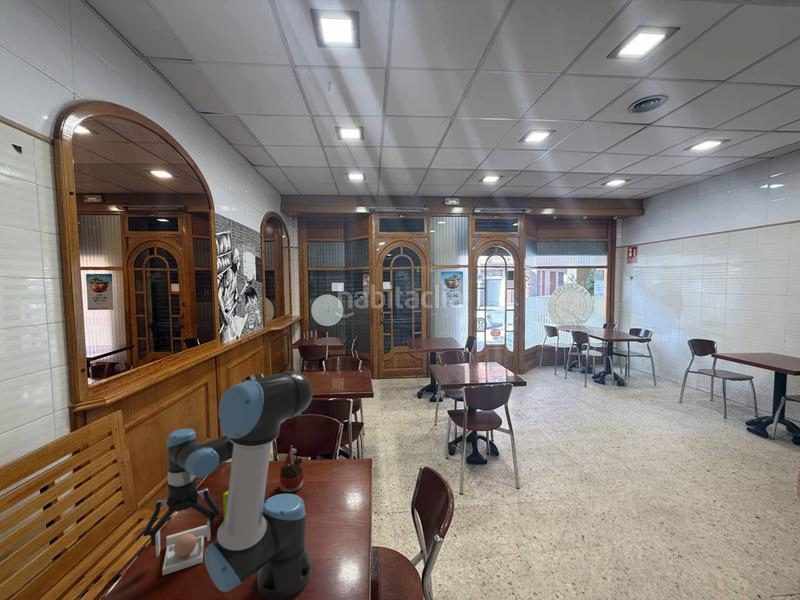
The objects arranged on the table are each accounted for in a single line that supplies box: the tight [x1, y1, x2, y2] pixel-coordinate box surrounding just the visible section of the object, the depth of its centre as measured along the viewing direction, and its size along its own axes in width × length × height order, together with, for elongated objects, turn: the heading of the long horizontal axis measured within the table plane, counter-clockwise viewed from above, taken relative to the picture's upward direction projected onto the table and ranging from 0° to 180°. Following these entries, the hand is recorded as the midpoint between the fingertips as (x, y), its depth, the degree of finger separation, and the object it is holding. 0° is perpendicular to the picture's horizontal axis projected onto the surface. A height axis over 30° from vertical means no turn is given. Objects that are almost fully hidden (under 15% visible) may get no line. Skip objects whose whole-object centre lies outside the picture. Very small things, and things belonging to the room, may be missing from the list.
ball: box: [174, 534, 196, 557], centre depth 106 cm, size 6×6×6 cm
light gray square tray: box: [162, 535, 205, 576], centre depth 106 cm, size 10×10×2 cm
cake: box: [279, 444, 304, 493], centre depth 143 cm, size 11×9×18 cm
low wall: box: [165, 524, 207, 547], centre depth 113 cm, size 1×12×4 cm, turn 118°
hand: (184, 545), depth 106 cm, fingers open, 13 cm apart
